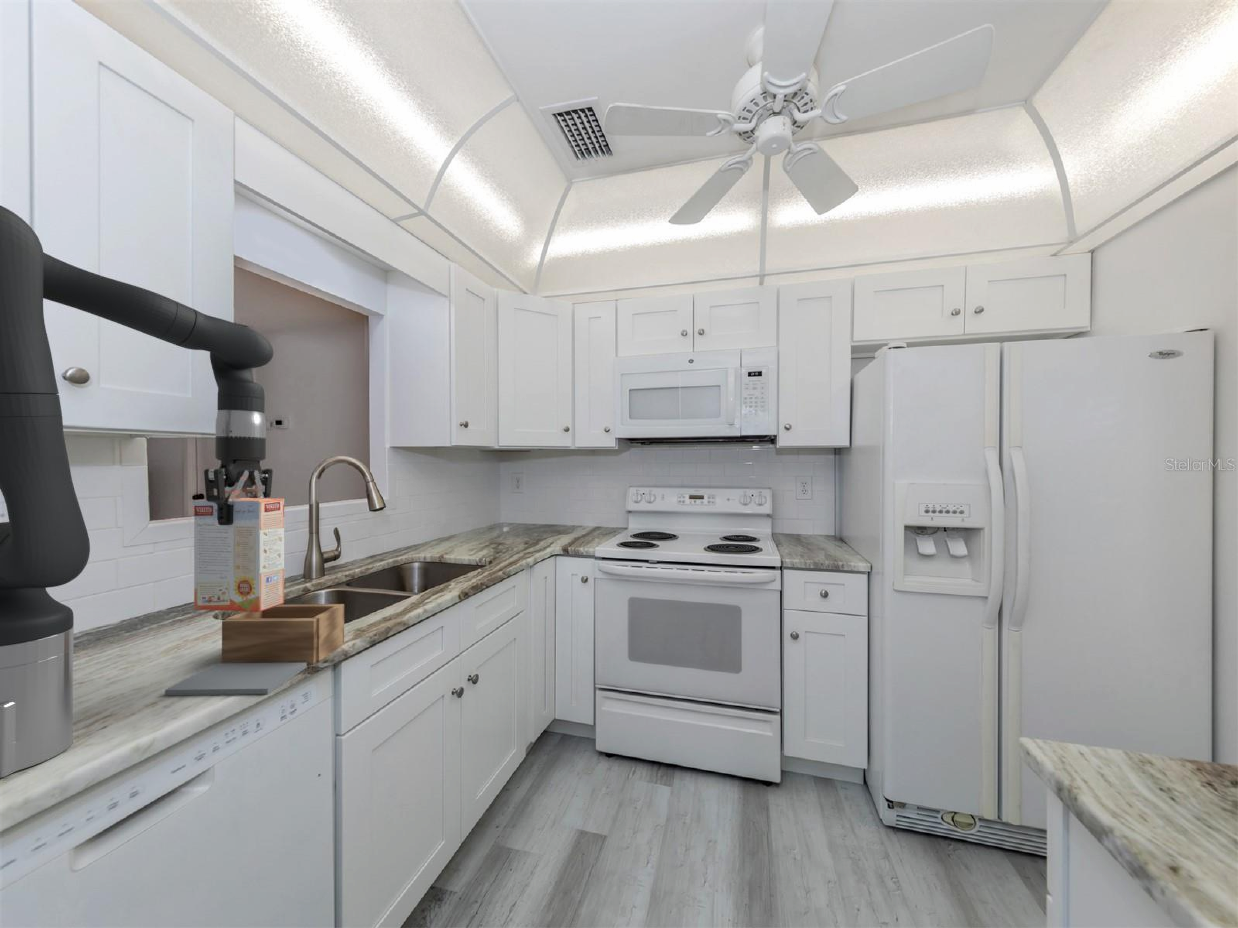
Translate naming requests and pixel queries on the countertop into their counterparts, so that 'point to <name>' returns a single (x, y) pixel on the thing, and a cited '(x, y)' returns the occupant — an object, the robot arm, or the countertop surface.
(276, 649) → the crate
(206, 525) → the cracker box
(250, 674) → the pad
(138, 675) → the countertop surface
